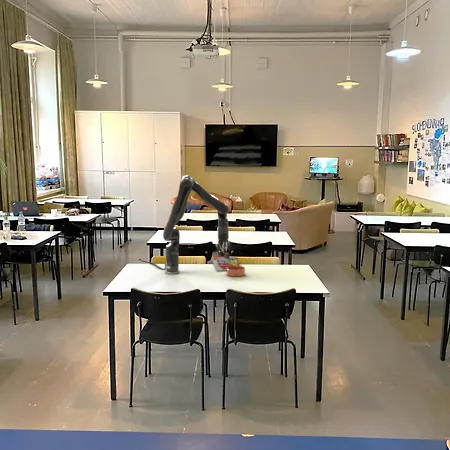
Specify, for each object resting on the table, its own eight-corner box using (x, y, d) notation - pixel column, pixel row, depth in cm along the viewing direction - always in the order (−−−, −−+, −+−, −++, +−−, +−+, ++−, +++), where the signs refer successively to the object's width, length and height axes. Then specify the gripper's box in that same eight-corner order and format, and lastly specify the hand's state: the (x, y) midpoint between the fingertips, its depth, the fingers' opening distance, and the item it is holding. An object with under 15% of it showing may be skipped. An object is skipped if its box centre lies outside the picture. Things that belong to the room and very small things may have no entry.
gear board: (242, 267, 337) (217, 268, 334) (242, 270, 337) (217, 271, 335) (233, 254, 381) (211, 255, 378) (233, 257, 381) (211, 258, 379)
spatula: (217, 256, 322) (217, 251, 321) (222, 255, 325) (222, 250, 324) (232, 260, 309) (232, 255, 308) (238, 259, 312) (238, 254, 312)
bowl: (224, 272, 330) (224, 266, 329) (242, 271, 333) (242, 265, 332) (229, 277, 317) (229, 270, 316) (247, 276, 320) (247, 269, 319)
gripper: (227, 230, 325) (227, 254, 327) (212, 232, 316) (212, 256, 319) (234, 231, 319) (234, 255, 322) (218, 233, 311) (219, 258, 313)
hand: (223, 256), depth 320 cm, fingers closed on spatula, 2 cm apart
